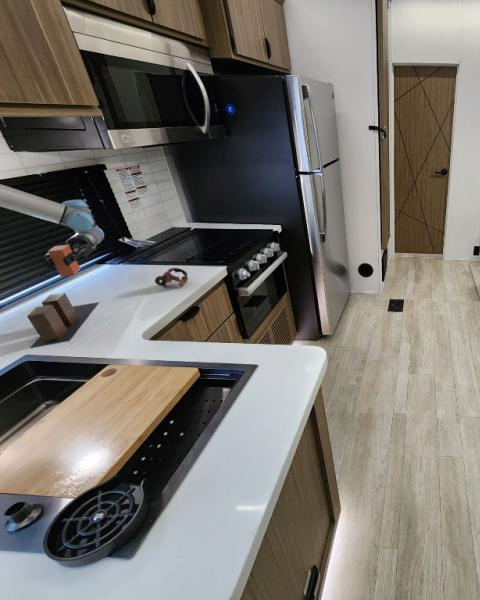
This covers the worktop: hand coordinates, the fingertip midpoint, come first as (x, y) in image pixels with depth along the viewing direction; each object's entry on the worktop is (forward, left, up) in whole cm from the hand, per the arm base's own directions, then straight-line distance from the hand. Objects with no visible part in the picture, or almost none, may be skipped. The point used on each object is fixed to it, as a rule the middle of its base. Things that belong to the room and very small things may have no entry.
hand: (57, 263), depth 118 cm
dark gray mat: (+7, -12, -18) cm, 23 cm away
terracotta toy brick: (-2, +5, -6) cm, 8 cm away
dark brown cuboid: (+10, -21, -17) cm, 29 cm away
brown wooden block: (+7, -12, -17) cm, 22 cm away
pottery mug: (+25, +18, -18) cm, 36 cm away
